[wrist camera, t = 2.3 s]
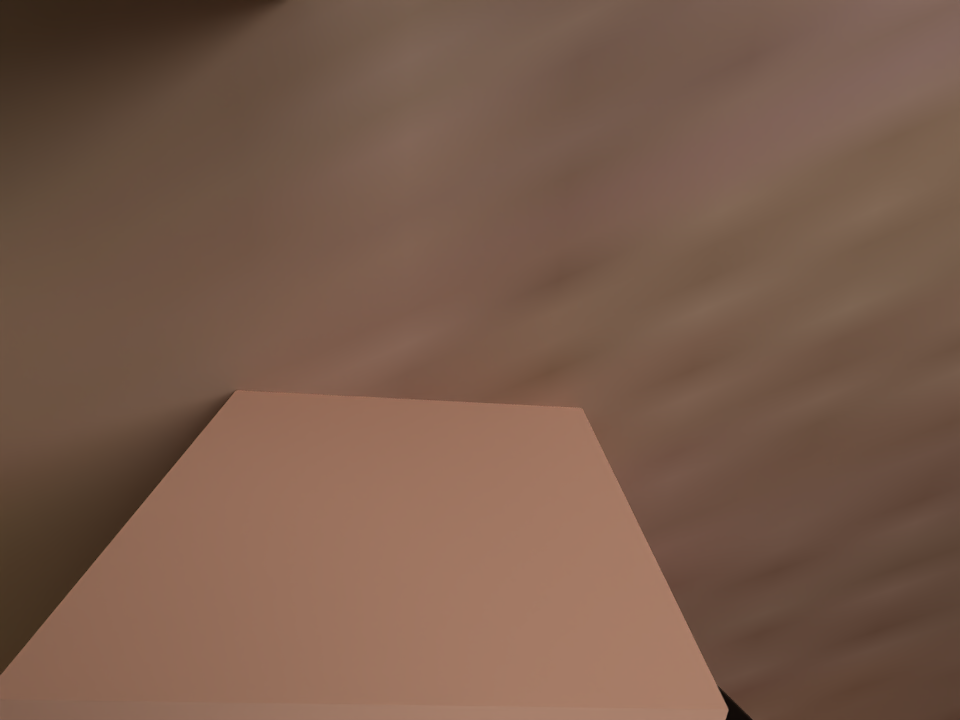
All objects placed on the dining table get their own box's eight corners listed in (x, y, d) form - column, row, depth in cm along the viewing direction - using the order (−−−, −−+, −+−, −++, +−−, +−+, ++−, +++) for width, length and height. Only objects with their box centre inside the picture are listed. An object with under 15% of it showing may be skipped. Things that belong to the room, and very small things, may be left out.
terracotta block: (581, 407, 9) (728, 709, 4) (543, 662, 11) (616, 1075, 6) (236, 389, 9) (-19, 699, 4) (254, 656, 10) (94, 1093, 6)
